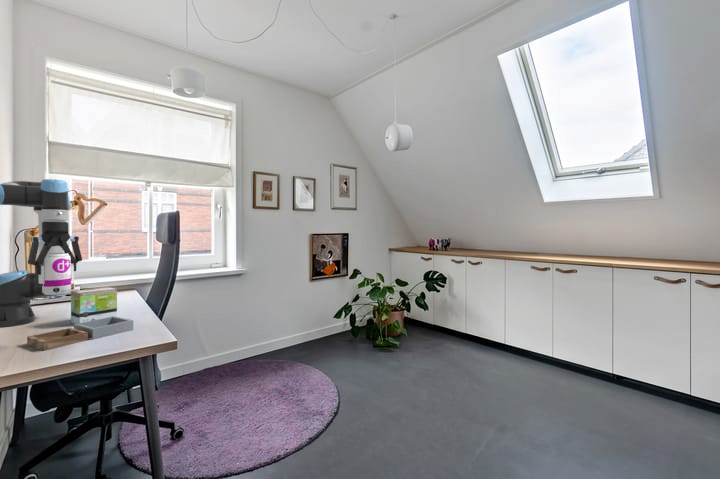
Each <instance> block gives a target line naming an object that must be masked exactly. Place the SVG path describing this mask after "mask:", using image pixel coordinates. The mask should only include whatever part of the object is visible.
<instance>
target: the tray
mask: <svg viewBox="0 0 720 479" xmlns="http://www.w3.org/2000/svg"><path fill="white" fill-rule="evenodd" d="M73 328H74V329H77V330H81V331H85V332H88V339H89V340H97V339H101V338H105V337H109V336H113V335H117V334H121V333H125V332H130V331H134V319H128V318H124V317H119V316H117V317H115V316H112V317H107V318H102V319H97V320H92V321H87V322H82V323H77V324H74V323H73Z"/></svg>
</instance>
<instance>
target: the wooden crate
mask: <svg viewBox="0 0 720 479" xmlns="http://www.w3.org/2000/svg"><path fill="white" fill-rule="evenodd" d="M88 340H89V338H88V332H85V331H81V330H77V329H74V327H73V328H72V327H68V328H62V329H58V330H53V331H49V332H47V331H46V332H43V333H38V334H34V335H33V334H32V335H28V336H26V345H27V346H29V347H33V348H35V349H38V350H41V351H48V350H52V349H56V348H61V347H64V346H70V345H73V344H77V343H82V342H85V341H88Z"/></svg>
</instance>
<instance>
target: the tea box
mask: <svg viewBox="0 0 720 479" xmlns="http://www.w3.org/2000/svg"><path fill="white" fill-rule="evenodd" d="M112 316H115V317H118V289H117V288H115V287H109V286H106V287H95V288H85V289H78V290H71V291H70V323H72V324H73V325H74V324H77V323H82V322H87V321H92V320H97V319H102V318H107V317H112Z"/></svg>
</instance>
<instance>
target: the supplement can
mask: <svg viewBox="0 0 720 479" xmlns="http://www.w3.org/2000/svg"><path fill="white" fill-rule="evenodd" d="M41 265H42V266H44V280H45V284H42V293H44V294H45V295H58V294H65V293H67V294H69V293H70V292H71V291H72V281H71V258H70V256H69V254H68V253H65V252H63V253H47V255H46V257H45V258H44V261H43V263H42V264H41ZM65 295H66V294H65ZM58 296H59V295H58Z"/></svg>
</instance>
